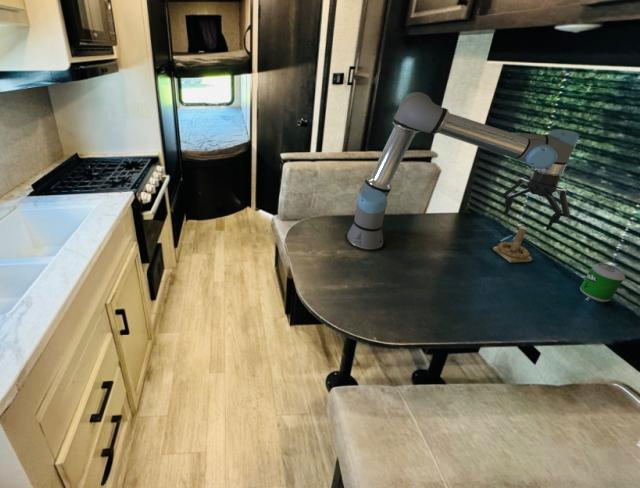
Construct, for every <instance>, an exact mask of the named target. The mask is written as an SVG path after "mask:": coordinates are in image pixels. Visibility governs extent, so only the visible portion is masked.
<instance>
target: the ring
mask: <svg viewBox="0 0 640 488" xmlns="http://www.w3.org/2000/svg"><path fill="white" fill-rule="evenodd" d="M512 243H513V242H509V241H501V242H499V243H498V244H497V245H496V246H497V247H498V250H499V251H500V252H502V253H503V254H505V255H507V256H509V257H512V258H516V259H527V258H528V257H531V254H530V252H529V250H528V249H527V248H526V247H524V246H522V245H520V246H519V249H518V250H519V251H521V252H522V253H523V254H516V253H512V252H510V251H508V250H506V249H505V248H504V247H511V245H512Z"/></svg>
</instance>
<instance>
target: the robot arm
mask: <svg viewBox="0 0 640 488" xmlns="http://www.w3.org/2000/svg"><path fill="white" fill-rule="evenodd" d="M392 125H393V128H392V131H391V133H390V135H389V137H388V139H387V141H386V144H385V145H384V148H383V149H382V152H381V154H380V156H379V158H378V160H377V162H376V164H375V167H374V169H373V171H372V173H371V175H367V177H366V178H365V180H364V182H363V184H361V186H360V188H359V190H358V191H359V192H358V196H357V198H356V206H355V212H354V219H353V223H352V225H351V227H350V228H349V230H348V231H347V235H346V239H347V242H348V243H349V244H350V245H351V246H353V247H355V248H357V249H359V250H363V251H377V250H380V249H382V247H383V245H384V236H383V229H382V227H383V222H384V219H385V213H386V209H387V206H388V196H389V194H390V192H391V190H392V188H393V185H392V183H391V182H392V180H393V178H394V177H395V175H396V173H397V172H398V171H397V170H398V169H399V167H400V165H401V163H402V161H403V159H404V157H405V155H406V153H407V151H408V149H409V147H410V145H411V143H412V141H413V139H414V138H415V136H416V134H418V133H420V132H424V133H428V134H431V135H437V134H440V135H443V136H446V137H448V138H452V139H454V140H458V141H461V142H463V143H468V144H470V145H473V146H476V147H478V148H482V149H484V150H488V151H490V152H493V153H497V154H500V155H502V156H505V157H509V158H511V159H514V160H516V161H520V162H523V163H525V164H527V165H528V166H529V167H531V168H533V169H535V170H534V171H533V172H532V175H531V177H530V179H529V180H528V179H525V177H521V178H519V179H518V180H517V182H516V183H515V184H514V185H512V186H511V187H510V188H509V189H507V190H506V191H505V192H504V193H502V194H501V197H502V198H504V199H505V201H504V204H503V207H504V209H505V210H504V212H503V214H502V215H503V216H507V215H509V212H510V210H511V208H512V206H513V203H514V199H516V198H517V197H520V196H522V195H525V194H528V193H531V195H536V196H538V197H541V198H542V197H545V199H546V200H547V202H548V203H549V205H550V207H551V209H552V211H553V214H552V215H551V217H550V219H549V222H548V224H547V225H546V228H545V231H549V230H551V229H552V226H553V224H558V222H559V221H560V219H561V217H568V216H569V215H571V212H570V207H569V203H568V198H567V194H568V189H566V188H563V189H562V188H558V184H559V182H560V180H561V178H562V174H563V173H564V171H565V169H566V167H567V165H568V162H569V160H570V158H571V157H572V153H573V151H574V150H575V148H576V147H577V144H578V141H579V138H580V134H579V133H578V132H575V131H572V130H568V129H559V128H558V129H552V130H551V131H549V133H548V134H536V133H535V134H534V133H525V132H510V131H508V130H503V129H501V128H497V127H494V126H491V125H488V124H486V123H485V124H484V123H481V122H479V121H476V120H472V119H469V118H467V117H463V116H460V115H457V114H454V113H451V112H450V111H449V109H448V108H446V107H443V106H441V105H438V104H436V103H435V102H434V101H432V99H431V97H430V96H429V94H427V93H423V92H419V91H414V92H411V93H409V94H406V95H405V96H404V97H403V98H402V99H401V100H400V102H399V104H398V109H397V111H396V113H395V115H394V117H393V119H392ZM524 185H526V186H527V188H525V189H523V190H521V191H518V192H516V193H513V194H511V193H512V192H514V191H515V190H517V188H519V187H521V186H524ZM554 193H557V195H558V196H559V202H560V206H559V204H558V202H557V200H556V199H555V196H554ZM510 194H511V195H510ZM560 207H561V208H560Z"/></svg>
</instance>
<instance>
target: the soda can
mask: <svg viewBox="0 0 640 488" xmlns="http://www.w3.org/2000/svg"><path fill="white" fill-rule="evenodd" d="M625 279H626V275H625V274H624V272H623V270H622V269H620V268H618V267H616V266H614V265H612V264H608V263H605V262H600V263H595V264H593V265H592V266H591V268H590V270H589V271H588V273H587V275H586V277H585V278H584V280H583V281H582V283H581V285H580V287H579V290H580V292H581V293H582V295H584V296H586V297H587V298H588V299H591V301H595V302H599V303H605V302H609V301H611V300H612V298H613V297H614V295H615V294H616V292H617V291H618V289H619V287H620V286H621V285H622V283H623V282H624V280H625Z"/></svg>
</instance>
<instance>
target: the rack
mask: <svg viewBox="0 0 640 488" xmlns="http://www.w3.org/2000/svg"><path fill="white" fill-rule="evenodd" d="M527 231H528V228H527V227H525V226H519V227H518V230H517V232H516V233H515V237H514V238H513V241H512V242H511V243H512V245H511V247H504V248H505V249H506V250H508V251H510V252H512V253H516V254H523V253H522V252H521V251H519V250H518V249H519V246H521V244H522V241H523V240H524V238H525V235H526V233H527ZM492 250H493V251H494V252H495V253H497V254H498V255H499V256H501V257H502V258H504V260H506V261H508V262H509V263H528V262H532V260H533V258H532V257H531V256H529V257H528V258H527V259H516V258H512V257H509V256H507V255H505V254H503V253H502V252H500V251H499V250H498V247H497V245H496V246H493V247H492Z"/></svg>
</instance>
